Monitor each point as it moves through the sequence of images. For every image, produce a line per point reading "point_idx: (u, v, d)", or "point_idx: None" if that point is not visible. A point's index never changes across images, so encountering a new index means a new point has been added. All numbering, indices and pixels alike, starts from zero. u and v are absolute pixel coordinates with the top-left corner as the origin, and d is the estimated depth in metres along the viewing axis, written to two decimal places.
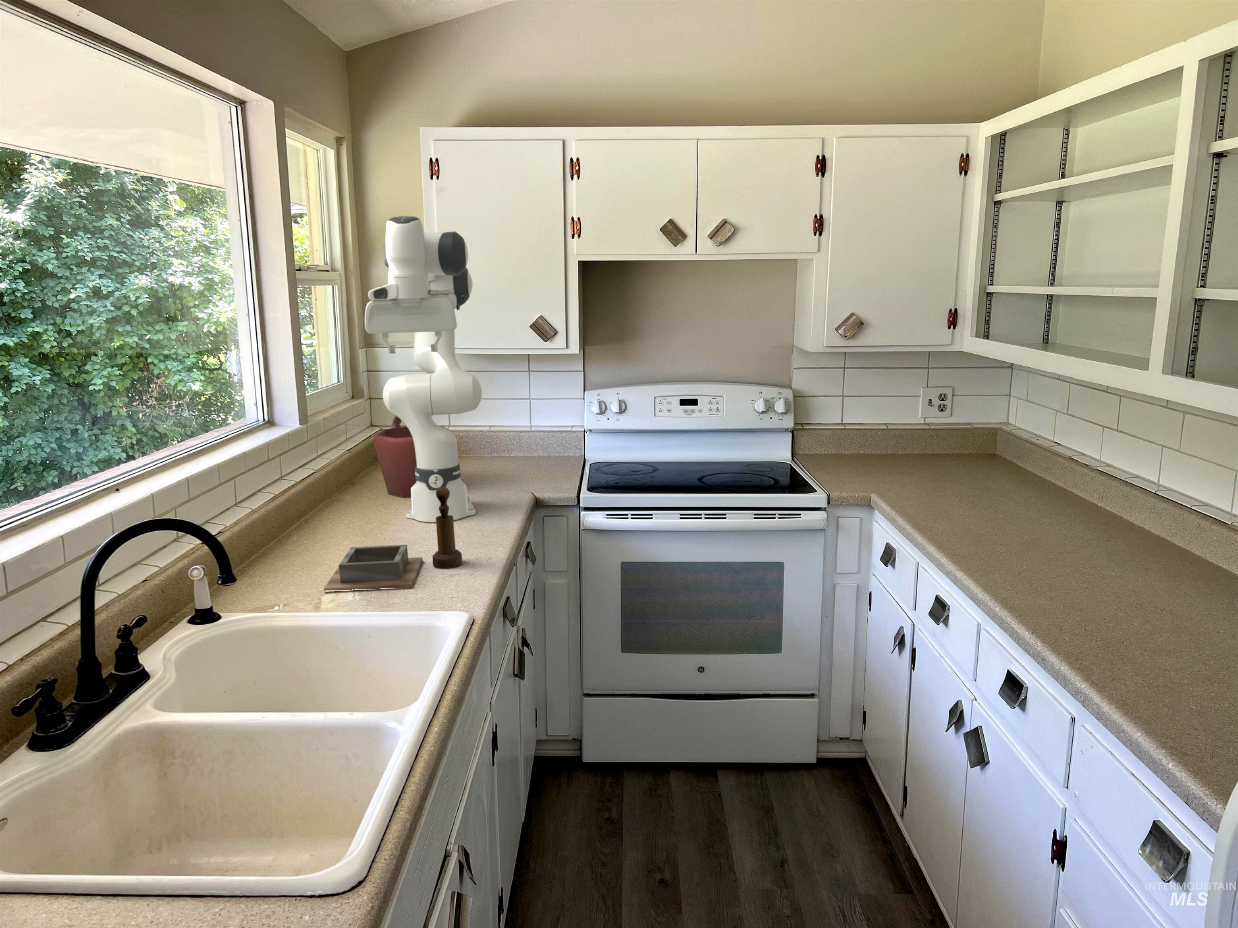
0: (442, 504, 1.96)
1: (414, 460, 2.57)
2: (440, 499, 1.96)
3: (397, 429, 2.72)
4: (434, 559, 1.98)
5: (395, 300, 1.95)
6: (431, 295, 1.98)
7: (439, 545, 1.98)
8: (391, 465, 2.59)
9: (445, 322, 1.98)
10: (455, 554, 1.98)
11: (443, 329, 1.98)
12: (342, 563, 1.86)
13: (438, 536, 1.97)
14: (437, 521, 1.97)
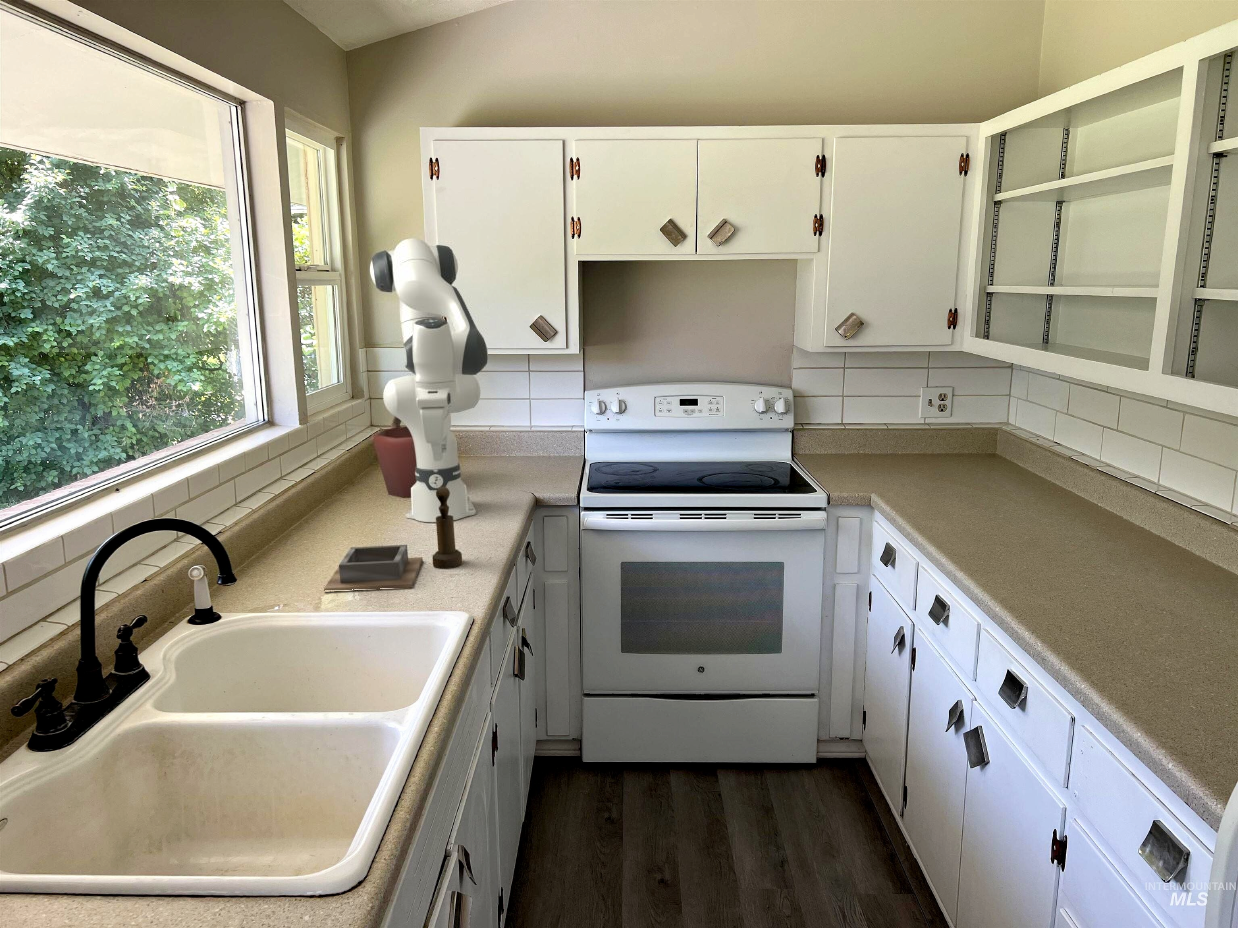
0: (442, 504, 1.96)
1: (414, 460, 2.57)
2: (440, 499, 1.96)
3: (397, 429, 2.72)
4: (434, 559, 1.98)
5: None
6: None
7: (439, 545, 1.98)
8: (391, 465, 2.59)
9: (450, 420, 2.01)
10: (455, 554, 1.98)
11: None
12: (342, 563, 1.86)
13: (438, 536, 1.97)
14: (437, 521, 1.97)
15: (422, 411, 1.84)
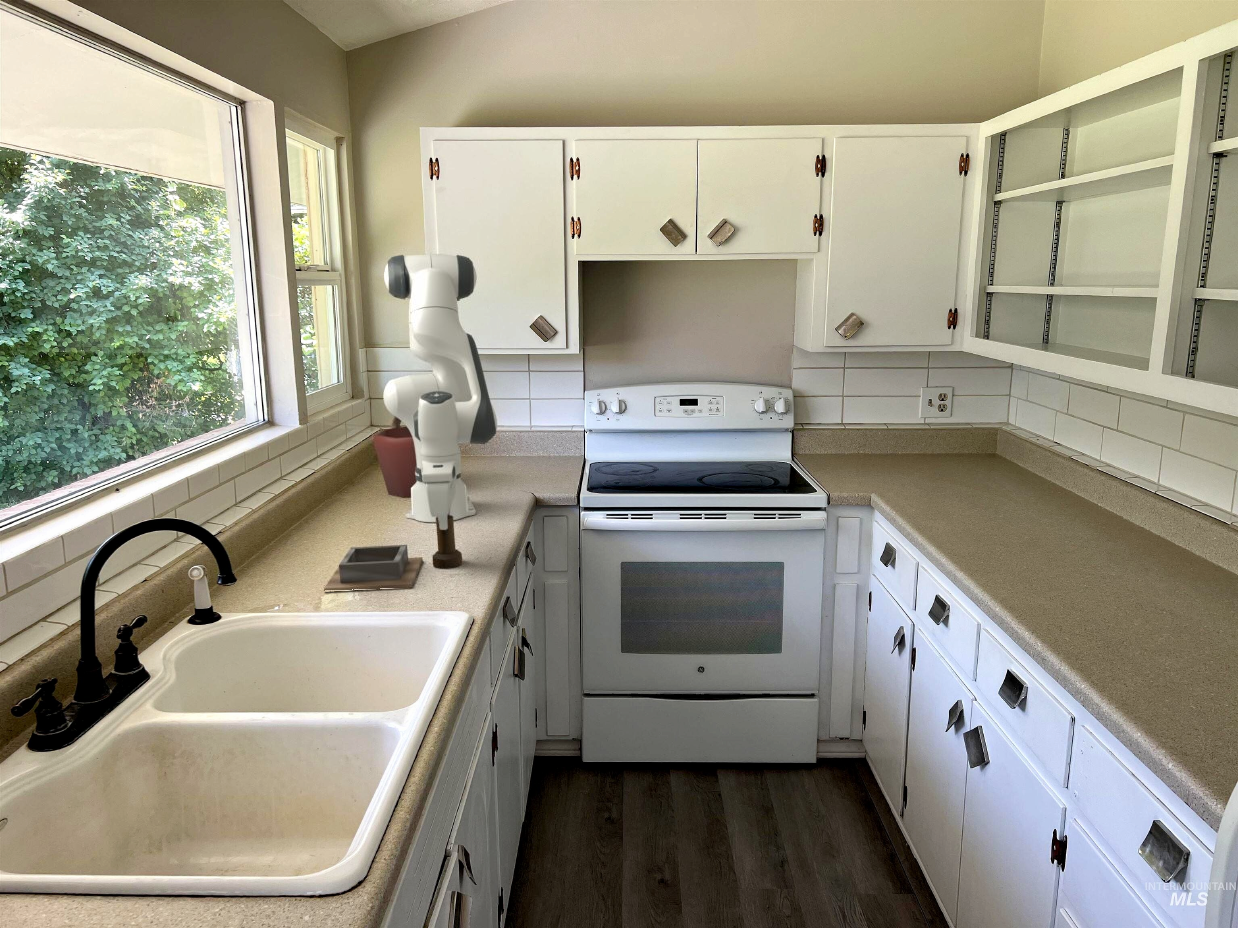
0: None
1: (414, 460, 2.57)
2: None
3: (397, 429, 2.72)
4: (434, 559, 1.98)
5: None
6: None
7: (439, 545, 1.98)
8: (391, 465, 2.59)
9: (454, 488, 2.04)
10: (455, 554, 1.98)
11: (454, 495, 2.04)
12: (342, 563, 1.86)
13: (438, 536, 1.97)
14: (437, 521, 1.97)
15: (427, 486, 1.87)
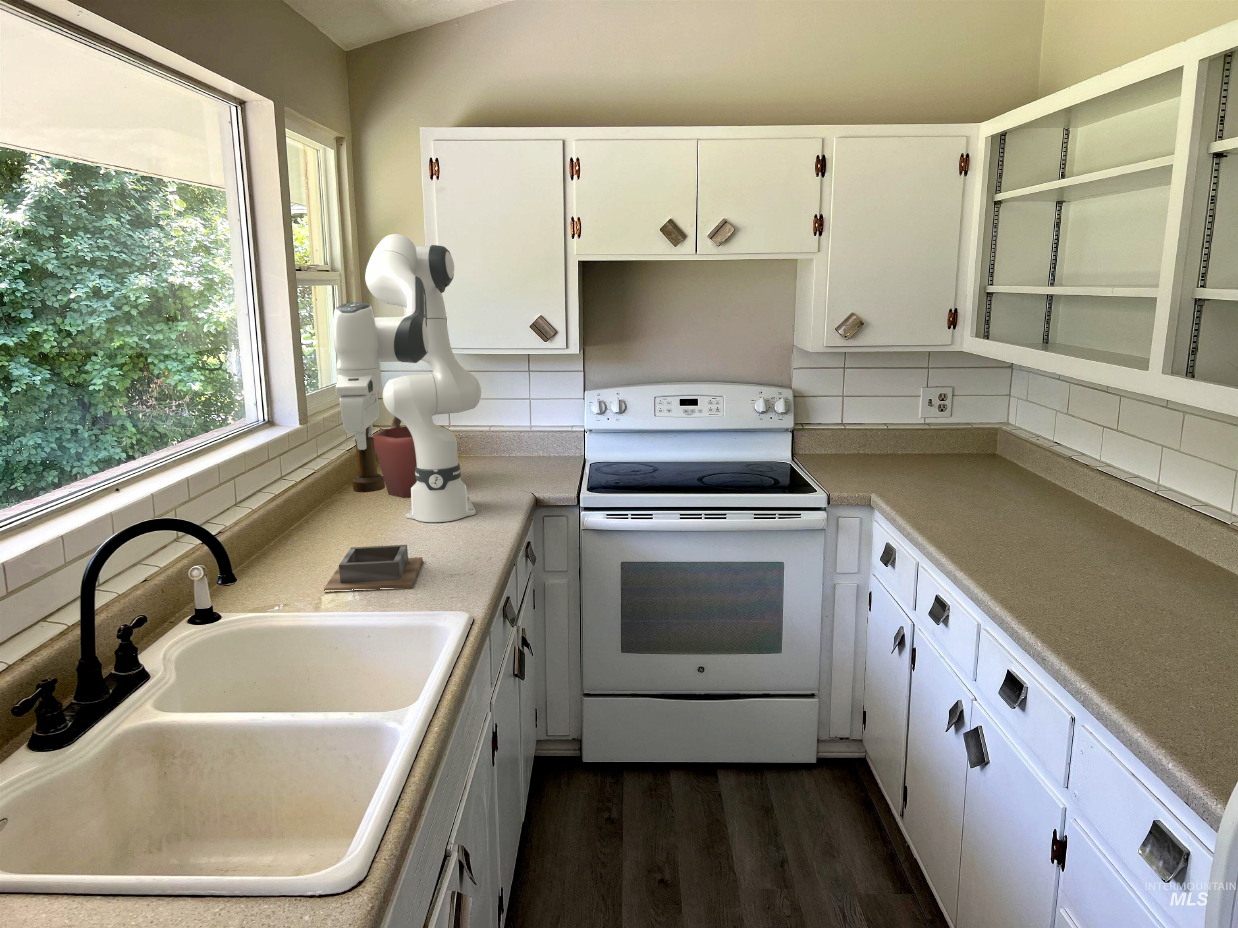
0: None
1: (414, 460, 2.57)
2: None
3: (397, 429, 2.72)
4: (354, 483, 1.86)
5: None
6: None
7: (359, 468, 1.86)
8: (391, 465, 2.59)
9: (377, 409, 1.93)
10: (376, 478, 1.87)
11: (377, 417, 1.93)
12: (342, 563, 1.86)
13: (358, 458, 1.86)
14: (356, 442, 1.85)
15: (341, 399, 1.76)
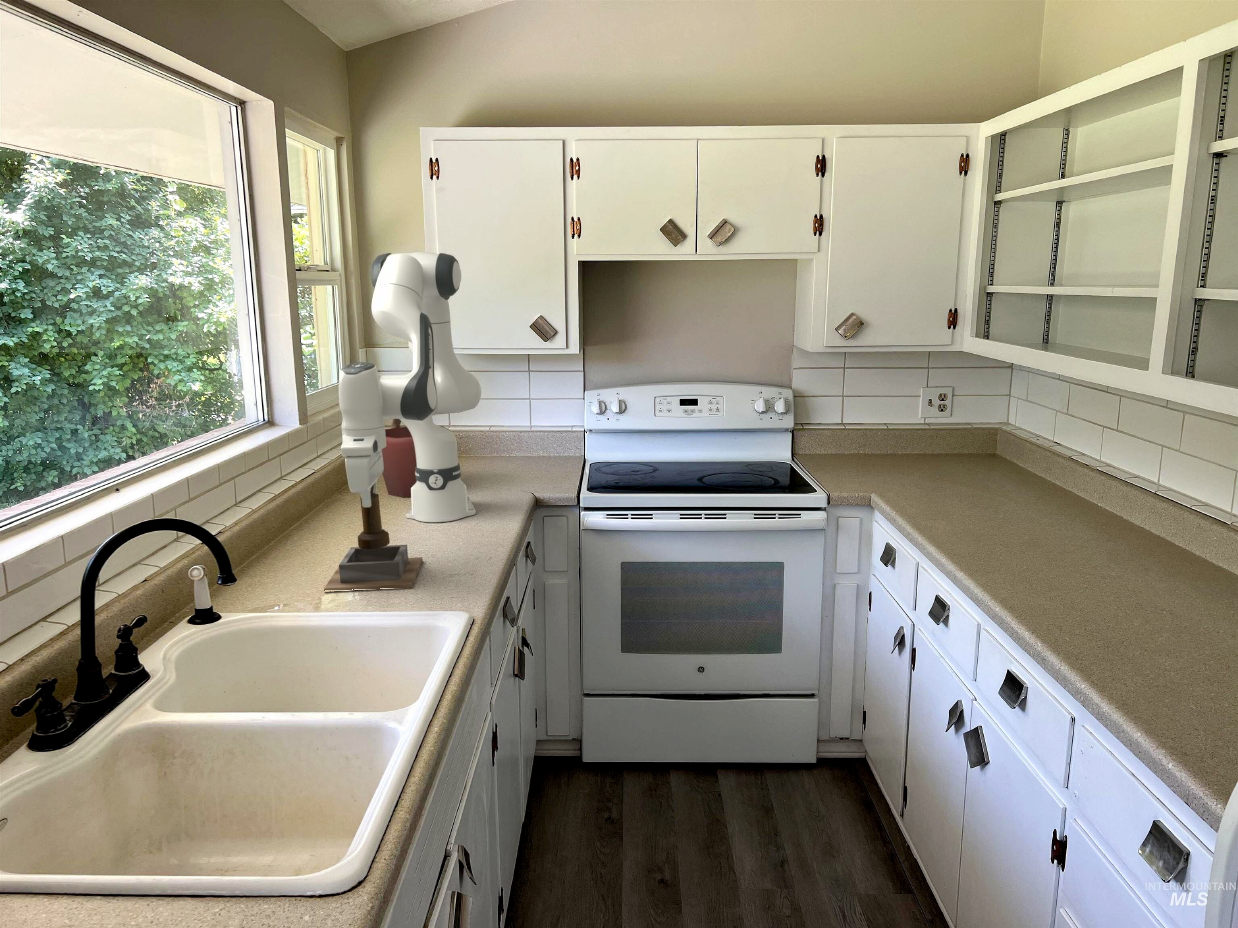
0: None
1: (414, 460, 2.57)
2: None
3: (397, 429, 2.72)
4: (359, 539, 1.89)
5: None
6: None
7: (364, 525, 1.89)
8: (391, 465, 2.59)
9: (382, 465, 1.96)
10: (381, 534, 1.89)
11: (382, 472, 1.96)
12: (342, 563, 1.86)
13: (363, 515, 1.89)
14: (361, 500, 1.88)
15: (347, 460, 1.78)
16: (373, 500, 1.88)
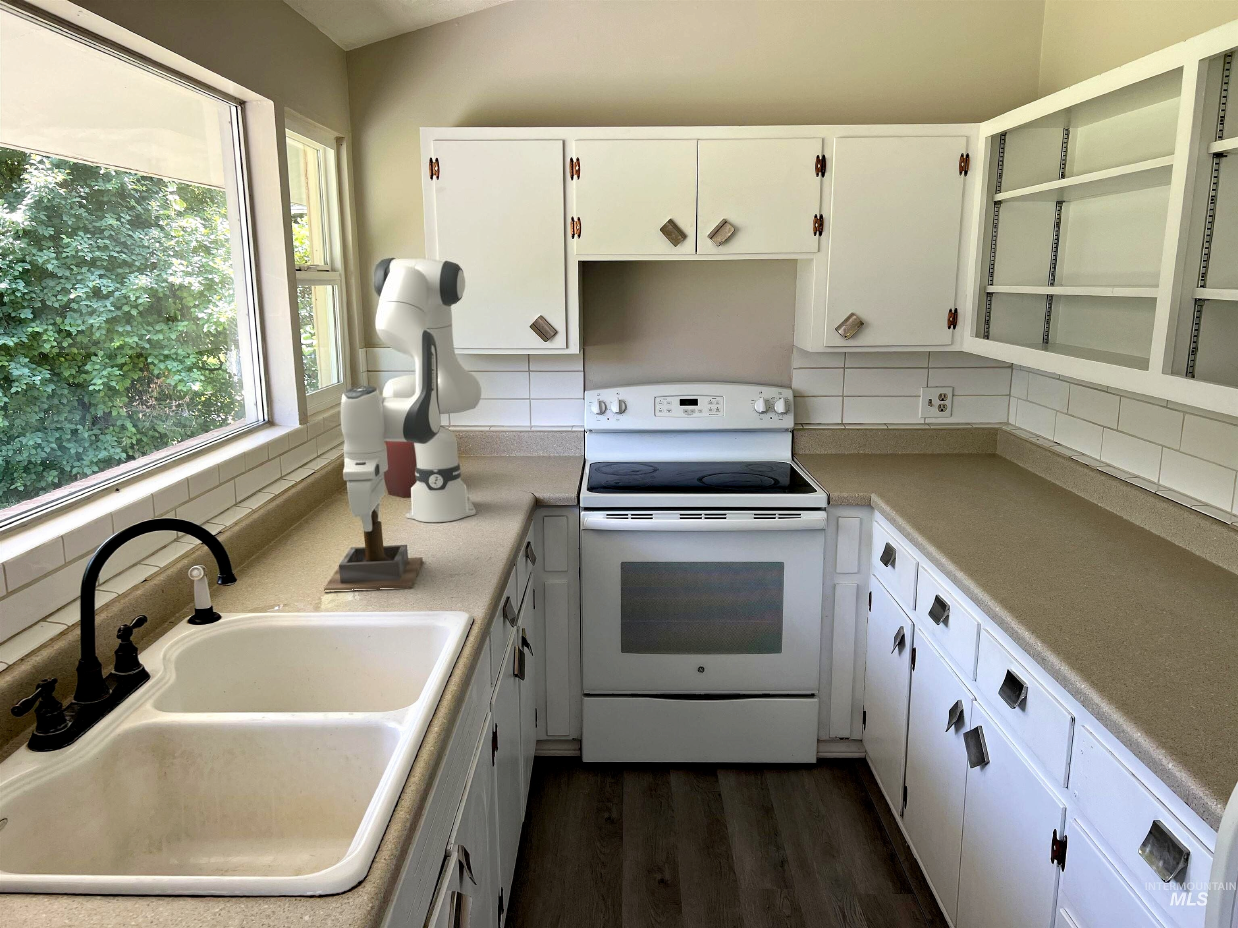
0: None
1: (414, 460, 2.57)
2: None
3: None
4: None
5: None
6: None
7: (366, 552, 1.91)
8: (391, 465, 2.59)
9: (383, 486, 1.97)
10: None
11: (383, 494, 1.97)
12: (342, 563, 1.86)
13: (365, 542, 1.90)
14: None
15: (349, 484, 1.79)
16: (376, 528, 1.89)
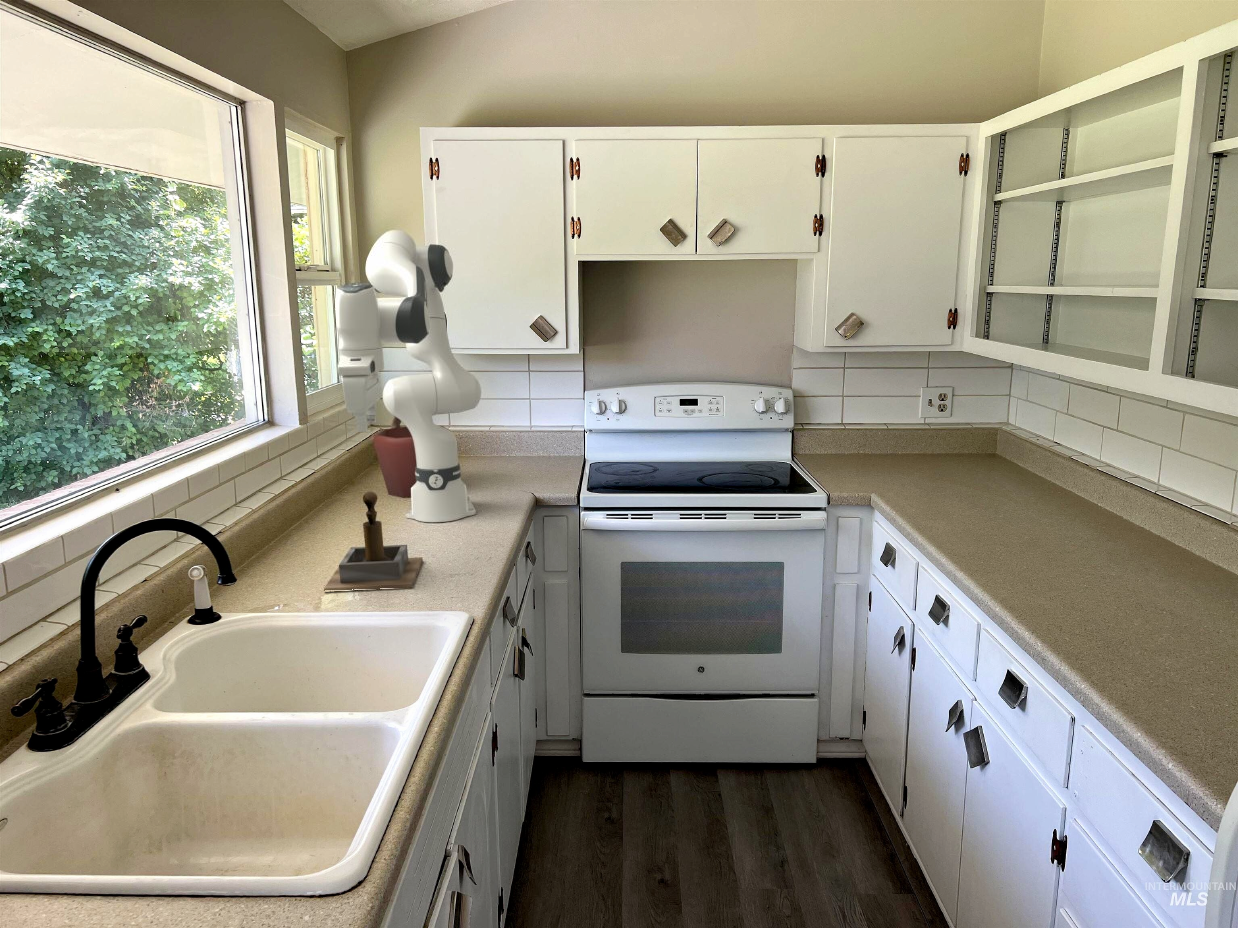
0: (369, 509, 1.89)
1: (414, 460, 2.57)
2: (367, 504, 1.89)
3: (397, 429, 2.72)
4: None
5: None
6: None
7: (367, 552, 1.91)
8: (391, 465, 2.59)
9: (379, 390, 1.93)
10: None
11: (379, 398, 1.93)
12: (342, 563, 1.86)
13: (365, 542, 1.90)
14: (364, 527, 1.89)
15: (343, 379, 1.76)
16: (376, 528, 1.89)
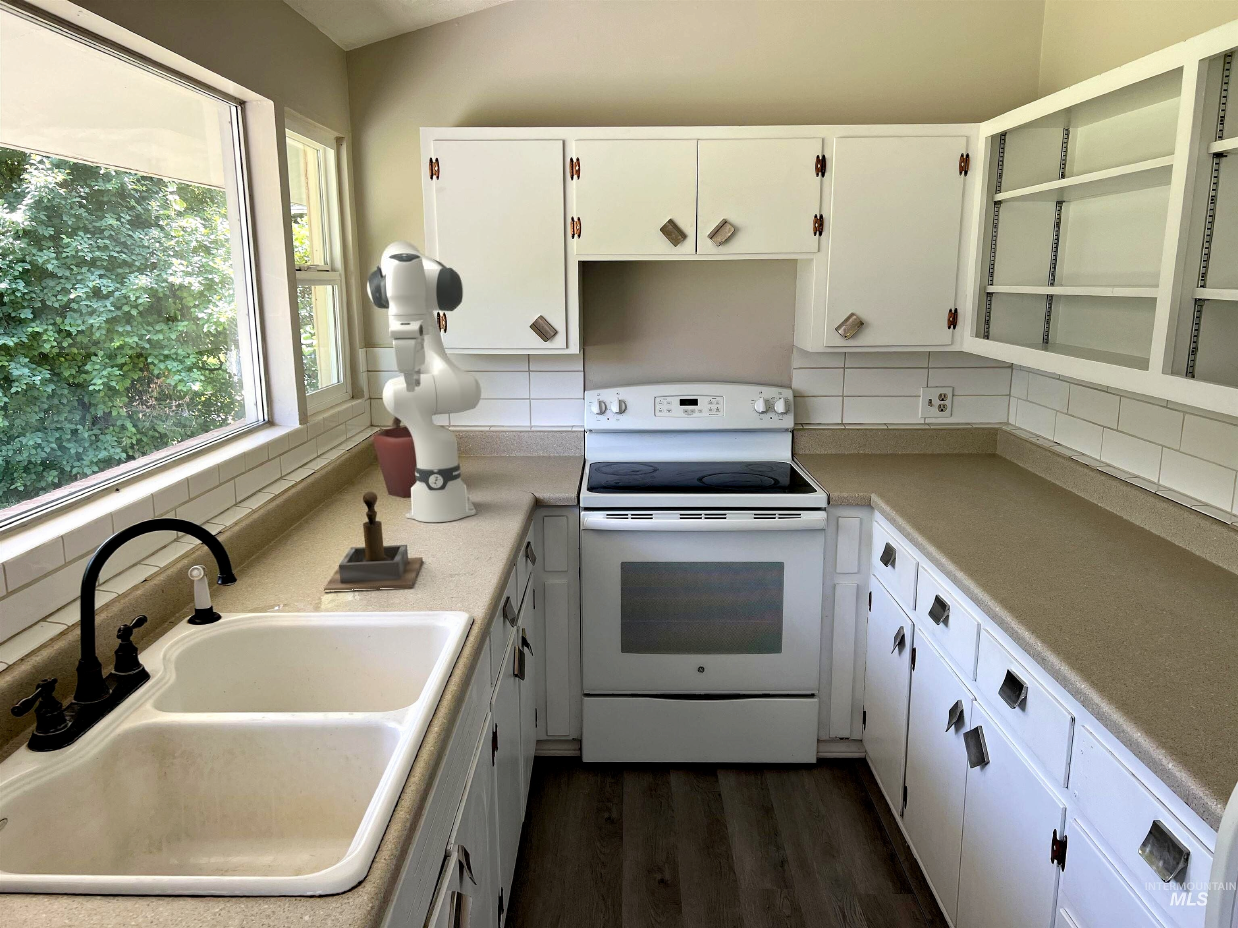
0: (369, 509, 1.89)
1: (414, 460, 2.57)
2: (367, 504, 1.89)
3: (397, 429, 2.72)
4: None
5: None
6: None
7: (367, 552, 1.91)
8: (391, 465, 2.59)
9: (424, 356, 2.06)
10: None
11: (424, 363, 2.06)
12: (342, 563, 1.86)
13: (365, 542, 1.90)
14: (364, 527, 1.89)
15: (395, 341, 1.89)
16: (376, 528, 1.89)
